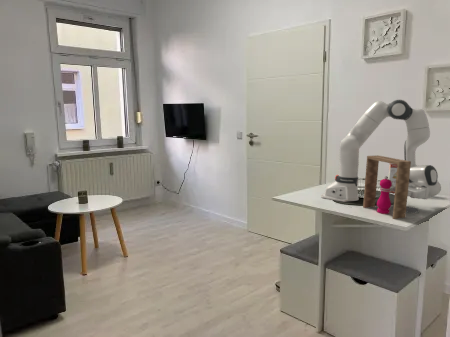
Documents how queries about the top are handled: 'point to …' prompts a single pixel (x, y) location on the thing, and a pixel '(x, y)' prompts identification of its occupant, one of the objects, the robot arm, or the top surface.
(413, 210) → the charcoal mat
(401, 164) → the walnut arch
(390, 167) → the cracker box
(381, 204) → the pepper mill
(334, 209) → the top surface
